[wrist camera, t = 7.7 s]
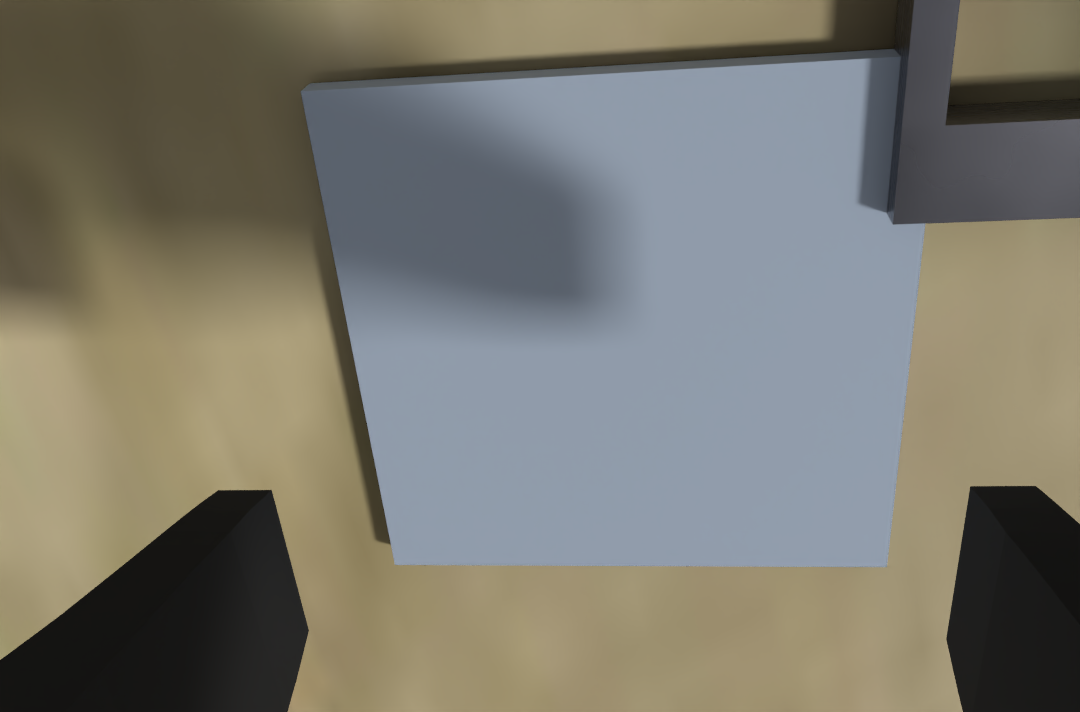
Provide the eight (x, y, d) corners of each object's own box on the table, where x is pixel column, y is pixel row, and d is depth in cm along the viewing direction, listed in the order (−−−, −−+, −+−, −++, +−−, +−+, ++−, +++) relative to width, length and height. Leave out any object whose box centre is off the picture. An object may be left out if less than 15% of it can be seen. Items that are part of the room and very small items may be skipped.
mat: (936, 46, 12) (944, 53, 12) (881, 550, 16) (886, 567, 16) (310, 83, 13) (300, 91, 13) (399, 549, 17) (395, 564, 17)
